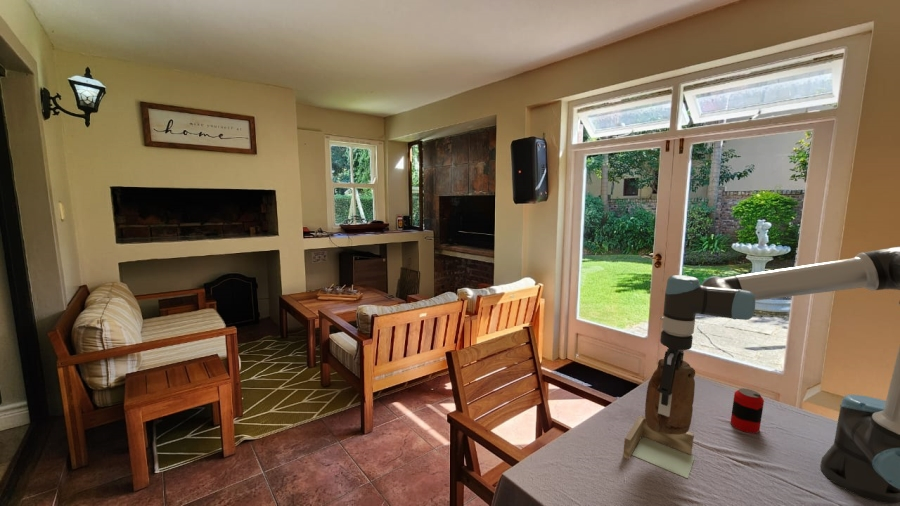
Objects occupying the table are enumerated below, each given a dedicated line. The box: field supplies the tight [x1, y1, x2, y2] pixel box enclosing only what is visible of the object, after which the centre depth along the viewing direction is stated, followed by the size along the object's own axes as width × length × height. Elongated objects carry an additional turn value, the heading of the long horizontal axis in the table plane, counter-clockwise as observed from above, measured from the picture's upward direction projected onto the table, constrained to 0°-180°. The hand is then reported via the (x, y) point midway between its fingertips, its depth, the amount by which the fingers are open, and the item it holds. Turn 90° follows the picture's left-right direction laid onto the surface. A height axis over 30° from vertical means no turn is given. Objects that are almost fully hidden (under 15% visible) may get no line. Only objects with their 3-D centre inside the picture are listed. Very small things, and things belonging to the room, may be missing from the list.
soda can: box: [730, 387, 765, 434], centre depth 125 cm, size 8×8×12 cm
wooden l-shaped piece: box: [622, 415, 695, 460], centre depth 111 cm, size 15×16×6 cm
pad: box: [631, 436, 695, 479], centre depth 111 cm, size 14×11×1 cm
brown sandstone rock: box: [644, 358, 696, 435], centre depth 108 cm, size 11×8×20 cm
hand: (668, 405), depth 109 cm, fingers closed on brown sandstone rock, 11 cm apart
